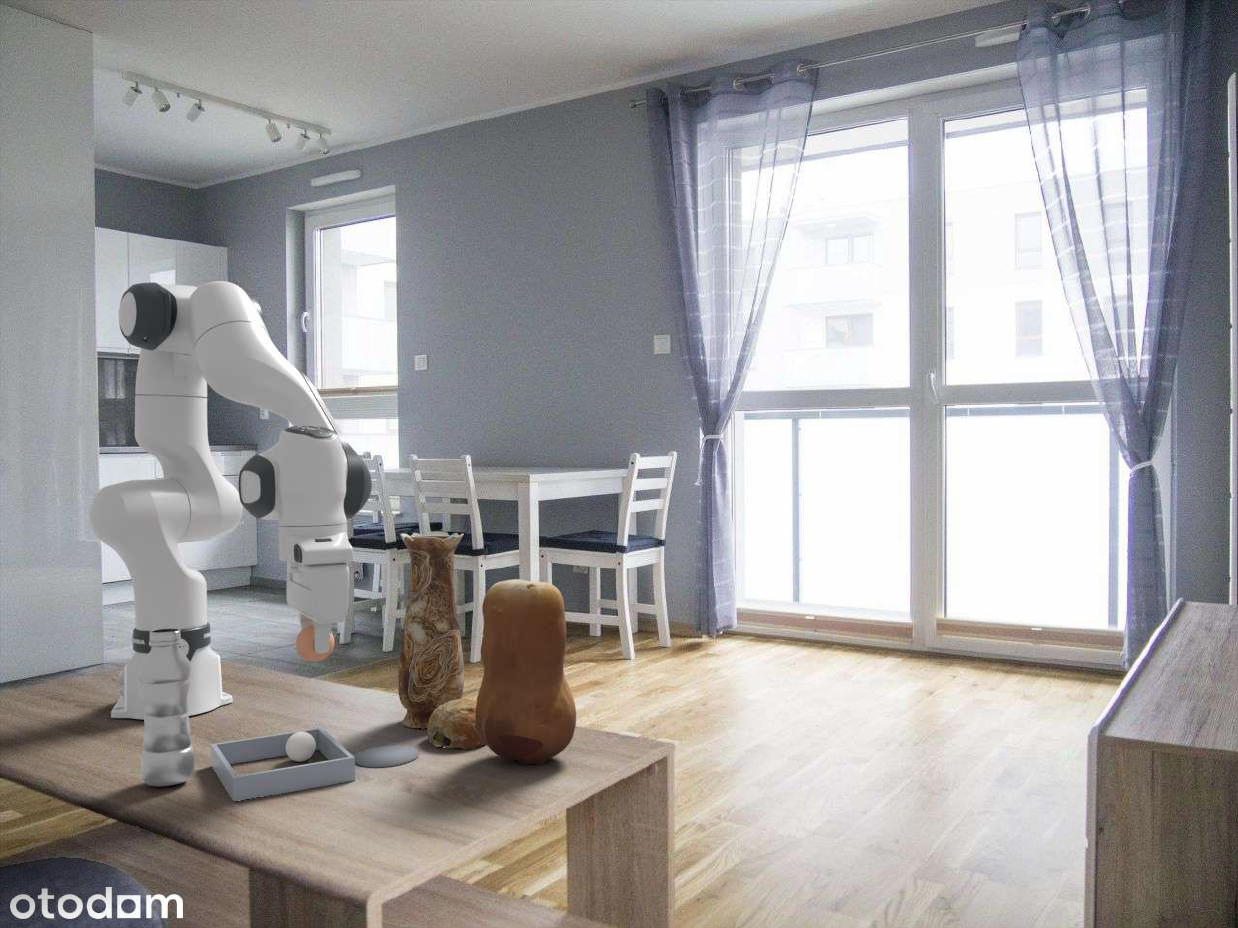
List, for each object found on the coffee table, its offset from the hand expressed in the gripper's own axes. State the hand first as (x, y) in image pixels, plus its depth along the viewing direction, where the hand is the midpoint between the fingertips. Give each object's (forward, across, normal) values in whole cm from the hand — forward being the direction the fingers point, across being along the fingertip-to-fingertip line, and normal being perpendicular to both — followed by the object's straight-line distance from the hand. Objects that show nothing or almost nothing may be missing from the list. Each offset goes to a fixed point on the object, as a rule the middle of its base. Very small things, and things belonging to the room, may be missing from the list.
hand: (315, 648), depth 134 cm
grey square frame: (+16, -1, -4) cm, 17 cm away
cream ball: (+16, -5, -1) cm, 17 cm away
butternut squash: (+17, +11, +26) cm, 33 cm away
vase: (+17, -15, +21) cm, 31 cm away
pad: (+16, -1, +10) cm, 19 cm away
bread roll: (+17, -3, +22) cm, 28 cm away
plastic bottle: (+16, -5, -18) cm, 25 cm away
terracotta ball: (+2, 0, 0) cm, 2 cm away
